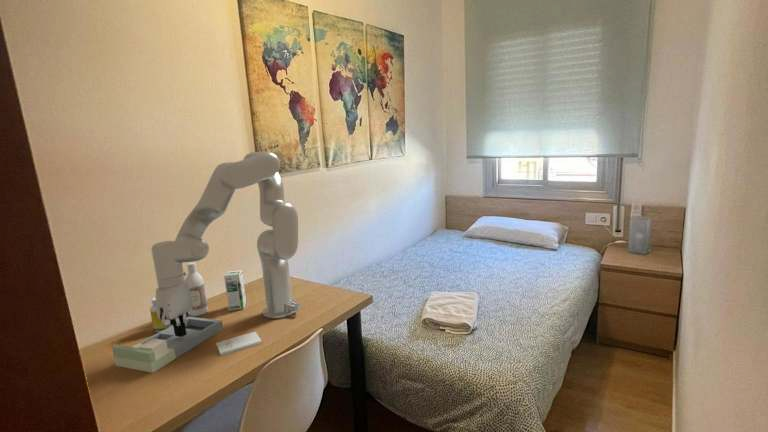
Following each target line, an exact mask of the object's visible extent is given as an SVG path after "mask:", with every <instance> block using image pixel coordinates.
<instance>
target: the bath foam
mask: <svg viewBox="0 0 768 432" xmlns="http://www.w3.org/2000/svg"><path fill="white" fill-rule="evenodd" d="M186 266H187V274H186V276H185V281H187V284H188V286H189V289H190V292H191V296H192V301H193V307H192V312H190V313H189V314H188V316H189V317H199V316H202V315H205V314H207V312H208V311H209V305H208V299H207V298H208V297H207V292H206V284H205V280H204V278H203V277H202V274H200V273H199V272H198V270H197V264H196V261H194V262H187V265H186Z"/></svg>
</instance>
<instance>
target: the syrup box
mask: <svg viewBox="0 0 768 432" xmlns="http://www.w3.org/2000/svg"><path fill="white" fill-rule="evenodd" d="M223 277H224V285H225V291H226V298H227V306H228V312H232V311H237V310H244V309H245V307H246V305H247V298H246V291H245V284H244V283H245V282H244V276H243V269H240V270H232V271H229V270H228V271H227V272H225V274H224V276H223Z"/></svg>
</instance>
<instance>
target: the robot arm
mask: <svg viewBox="0 0 768 432" xmlns="http://www.w3.org/2000/svg"><path fill="white" fill-rule="evenodd" d="M280 169H281V161H280V159H279V156H278V155H277V154H275V153H273V152H272V151H252V152H249V153H246V155H245V156H244V157H243V159H242V160H239V161H234V162H233V161H231V162H221V163H220V164H218V165H217V166H216V167H215V169H214V171H213V172H212V174H211V176H210V178H209V180H208V183H207V184H206V186H205V188H204V190H203V192H202V195H201V197H200V198H199V201H198V202H197V204H196V205H195V206H194V207H193V209H192V210H191V211H190V213H189V214H188V215H187V217H186V218H185V220H184V221H183V223H182V224H181V227H180V229H179V230H178V233H177V235H176V238H175V240H164V241H160V242H156V243H154V244H153V245H152V246H151V256H152V261H153V265H154V270H155V277H156V283H157V287H158V288H156V289H155V297H156V310H157V316H158V319H162V325H168V324H171V325H173V327H174V333H175V336H178V337H183V336H184V335H186V334H187V333H186V327H185V322H186V318H187V317H189V313H190V312H192V307H193V301H192V296H191V292H190V289H189V286H188V284H187V281H185V279H186V277H187V273H186V271H184V267H183V263H184V264H185V263H192V262H199V261H201V260H203V259H204V258H206V257H207V256H208V255H209V251H210V245H209V244H208V242H207V241H206V240H205V239H203V236H204V233H205V232H206V230H207V228H208V227H209V226H210V224H212V223H213V222H214V221H215V220H217V219H218V218H220V217H222V216H223V215H224V214H225V213H226V210H227V209H228V206H229V204H230V202H231V200H232V198H233V195H234V193H235V191H236V190H239V189H244V188H246V187H250V186H252V185H255V184H257V185H258V188H259V189H258V190H259V191H258V192H259V218H260V221H261V222H262V223H263V225H265V226H267V227H268V226H269V227H271V228H272V229H266V230H264V231H262V232H261V233H260V234H259V235H258V237H257V240H256V241H257V242H256V248H257V252H258V255H259V259H260V263H261V271H262V280H263V288H264V289H263V290H264V296H265V304H266V305H265V306H266V307H265V308H264V309H263V310H262V315H263V317H265V318H267V319H282V318H287V317H290V316H291V315H293V314H295V313H296V312H297V311H298V312H299V311H300V310H301V307H302V306H301V305H302V303H301V302H296V299H295V298H294V297H293V296H292V295H293V292H292V285H291V277H290V275H291V274H290V267H289V266H290V265H289V259H292V258H293V257H294V256H295V255H296V253H297V251H298V246H299V218H298V217H299V216H298V213H297V212H298V211H297V209H296V208H295V207H294V205H293V204H291V203H289V202H287V201H285V188H284V182H283V179H282V176H281V175H280V172H279V171H280Z"/></svg>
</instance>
